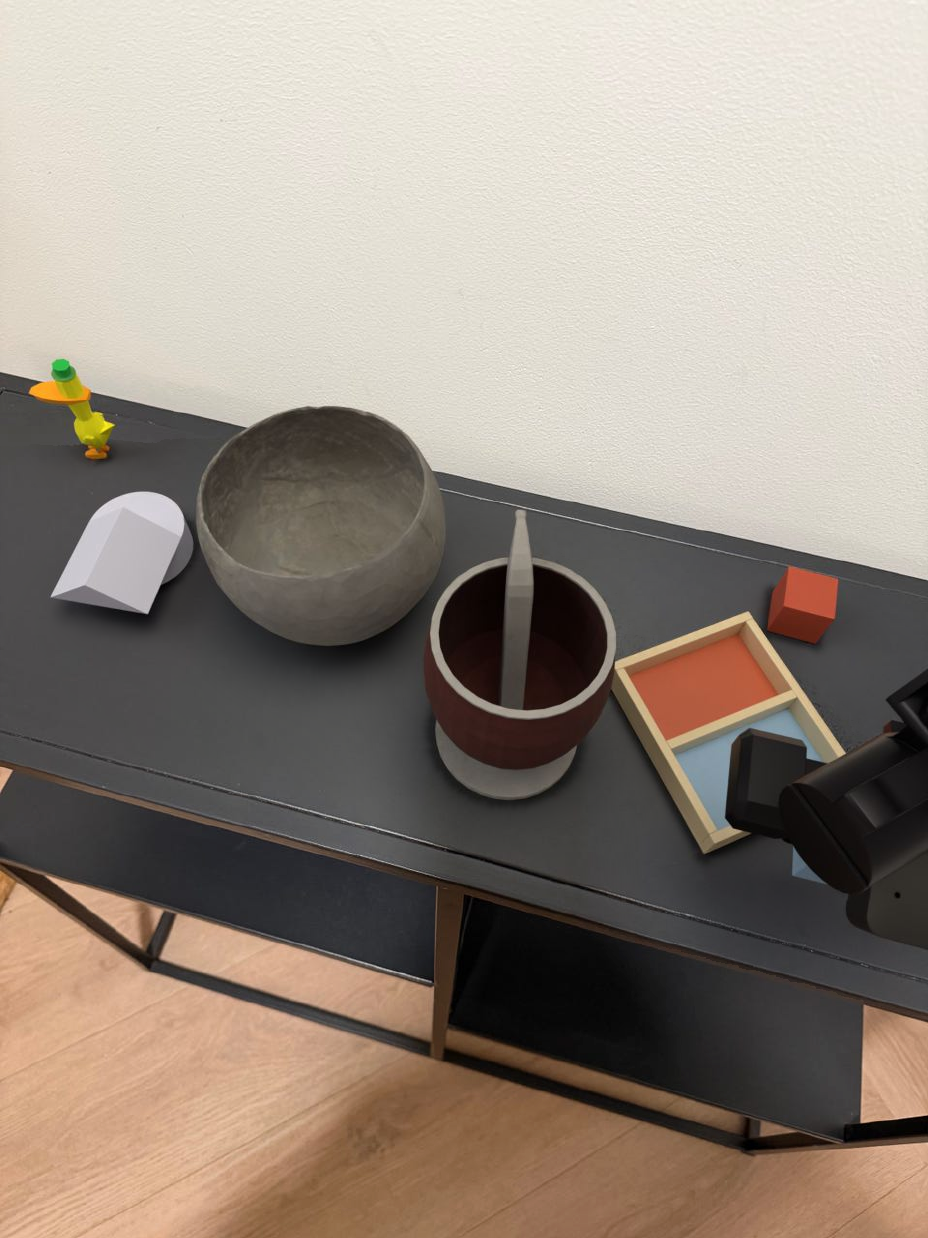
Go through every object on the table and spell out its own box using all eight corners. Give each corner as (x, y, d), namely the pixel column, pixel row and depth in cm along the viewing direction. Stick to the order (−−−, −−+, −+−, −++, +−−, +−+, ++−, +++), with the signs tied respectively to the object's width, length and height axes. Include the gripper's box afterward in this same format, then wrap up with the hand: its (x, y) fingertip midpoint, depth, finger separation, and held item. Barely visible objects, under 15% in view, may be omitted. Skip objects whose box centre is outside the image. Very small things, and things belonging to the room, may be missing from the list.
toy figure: (59, 463, 86) (7, 374, 76) (69, 437, 88) (20, 347, 78) (124, 466, 86) (81, 378, 76) (133, 440, 88) (92, 351, 78)
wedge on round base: (158, 633, 76) (206, 521, 83) (135, 593, 71) (188, 476, 77) (64, 616, 77) (119, 506, 83) (34, 576, 71) (95, 461, 78)
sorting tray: (737, 628, 78) (748, 611, 75) (847, 790, 70) (863, 778, 68) (605, 678, 75) (611, 662, 72) (703, 854, 67) (714, 844, 64)
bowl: (469, 524, 83) (474, 416, 70) (411, 705, 73) (404, 618, 60) (275, 481, 86) (245, 369, 73) (192, 651, 75) (140, 555, 63)
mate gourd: (593, 809, 69) (644, 707, 52) (425, 810, 68) (419, 707, 51) (578, 644, 77) (618, 508, 60) (427, 644, 76) (423, 507, 59)
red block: (819, 604, 80) (838, 578, 76) (815, 644, 77) (835, 619, 73) (772, 592, 80) (788, 565, 76) (766, 631, 78) (783, 605, 74)
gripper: (762, 872, 42) (685, 930, 56) (1152, 970, 40) (974, 1006, 54) (775, 680, 48) (701, 775, 61) (1118, 758, 46) (965, 839, 59)
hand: (830, 848), depth 59 cm, fingers closed on blue block, 4 cm apart
